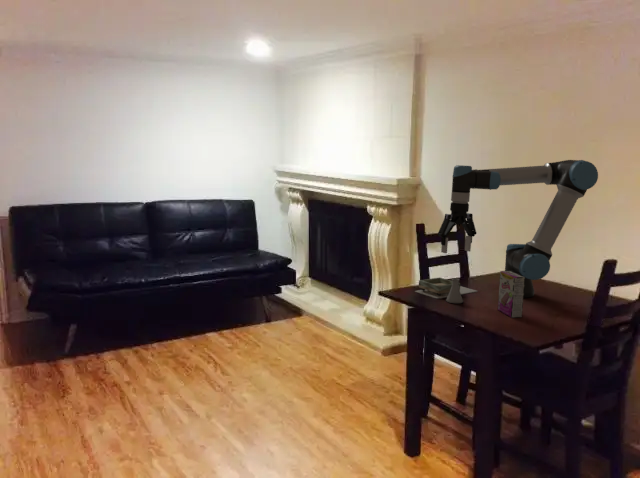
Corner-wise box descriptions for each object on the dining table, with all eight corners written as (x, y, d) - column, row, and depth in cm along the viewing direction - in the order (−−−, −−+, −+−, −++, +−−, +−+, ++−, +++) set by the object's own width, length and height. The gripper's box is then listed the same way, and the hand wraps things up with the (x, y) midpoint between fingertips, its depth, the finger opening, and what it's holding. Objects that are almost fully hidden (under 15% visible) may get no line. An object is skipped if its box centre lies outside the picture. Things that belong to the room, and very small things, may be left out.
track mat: (477, 291, 266) (477, 290, 266) (436, 298, 252) (436, 297, 252) (455, 285, 277) (455, 284, 277) (414, 291, 263) (414, 290, 263)
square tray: (459, 293, 260) (460, 283, 259) (438, 296, 253) (439, 286, 252) (439, 287, 271) (439, 277, 270) (418, 290, 264) (418, 280, 263)
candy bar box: (496, 310, 236) (499, 270, 234) (507, 309, 237) (510, 270, 235) (510, 318, 226) (514, 277, 223) (522, 317, 227) (525, 276, 224)
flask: (461, 300, 251) (463, 277, 249) (464, 304, 244) (465, 281, 242) (444, 299, 252) (446, 276, 250) (446, 303, 245) (448, 280, 243)
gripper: (474, 201, 253) (470, 248, 256) (431, 201, 240) (427, 251, 244) (487, 202, 247) (483, 251, 250) (444, 203, 234) (440, 255, 237)
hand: (455, 251), depth 247 cm, fingers open, 13 cm apart
